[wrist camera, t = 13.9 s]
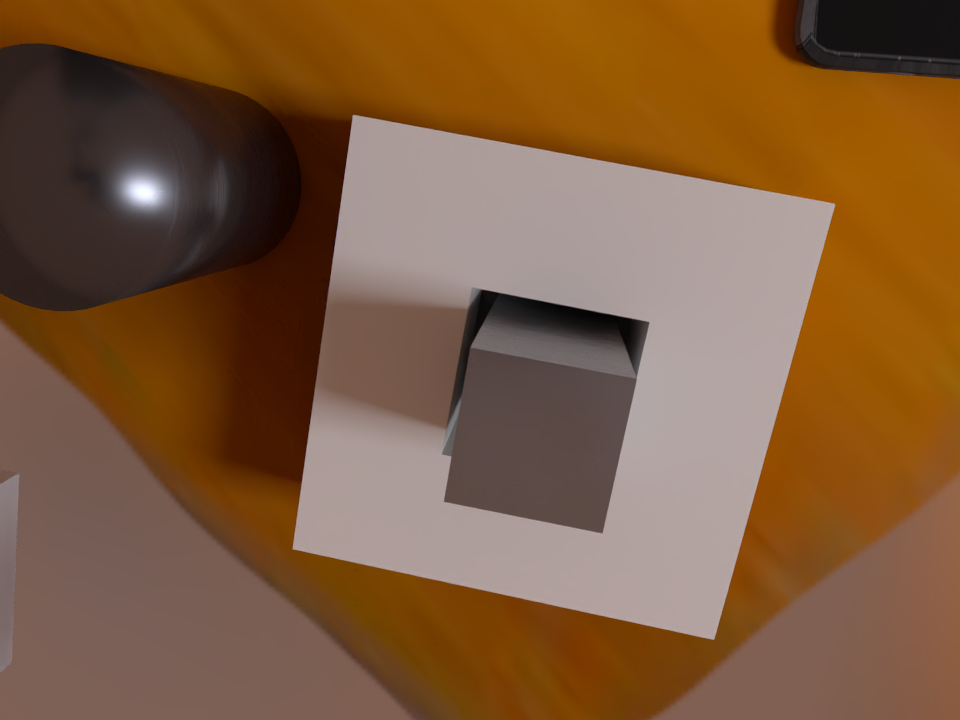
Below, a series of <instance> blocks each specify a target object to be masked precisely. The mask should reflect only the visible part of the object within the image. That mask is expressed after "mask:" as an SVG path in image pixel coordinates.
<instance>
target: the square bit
mask: <svg viewBox="0 0 960 720" xmlns="http://www.w3.org/2000/svg"><path fill="white" fill-rule="evenodd" d="M636 381H637V377H636V375H635V372H634V369H633V366H632V364H631V361H630V358H629V356H628V353H627V350H626V347H625V345H624V342H623V339H622V336H621V334H620V331H619V328H618V326H617V323H616V320H615V317H614V315H611V314H606V313H601V312H596V311H591V310H586V309H580V308H575V307H570V306H565V305H560V304H555V303H550V302H545V301H539V300H534V299H529V298H524V297H519V296H514V295H509V294H504V293H499V295H498V297H497V299H496V300H495V302H494V304H493V306H492V308H491V310H490V312H489V313H488V315H487V317H486V319H485V321H484V323H483V325H482V326H481V328H480V330H479V332H478V334H477V336H476V338H475V340H474V341H473V343H472V345H471V347H470V352H469V358H468V364H467V369H466V375H465V381H464V387H463V393H462V398H461V404H460V410H459V416H458V422H457V428H456V433H455V439H454V445H453V451H452V457H451V462H450V468H449V474H448V480H447V486H446V491H445V497H444V502H447V503H452V504H457V505H462V506H467V507H472V508H477V509H482V510H487V511H492V512H497V513H502V514H507V515H512V516H517V517H522V518H527V519H532V520H537V521H542V522H547V523H552V524H557V525H562V526H567V527H572V528H577V529H582V530H587V531H592V532H597V533H602V534H603V529H604V525H605V520H606V516H607V511H608V507H609V503H610V498H611V494H612V489H613V485H614V480H615V476H616V471H617V467H618V462H619V458H620V453H621V449H622V444H623V440H624V435H625V431H626V426H627V422H628V417H629V413H630V408H631V404H632V399H633V395H634V390H635V386H636Z"/></svg>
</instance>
